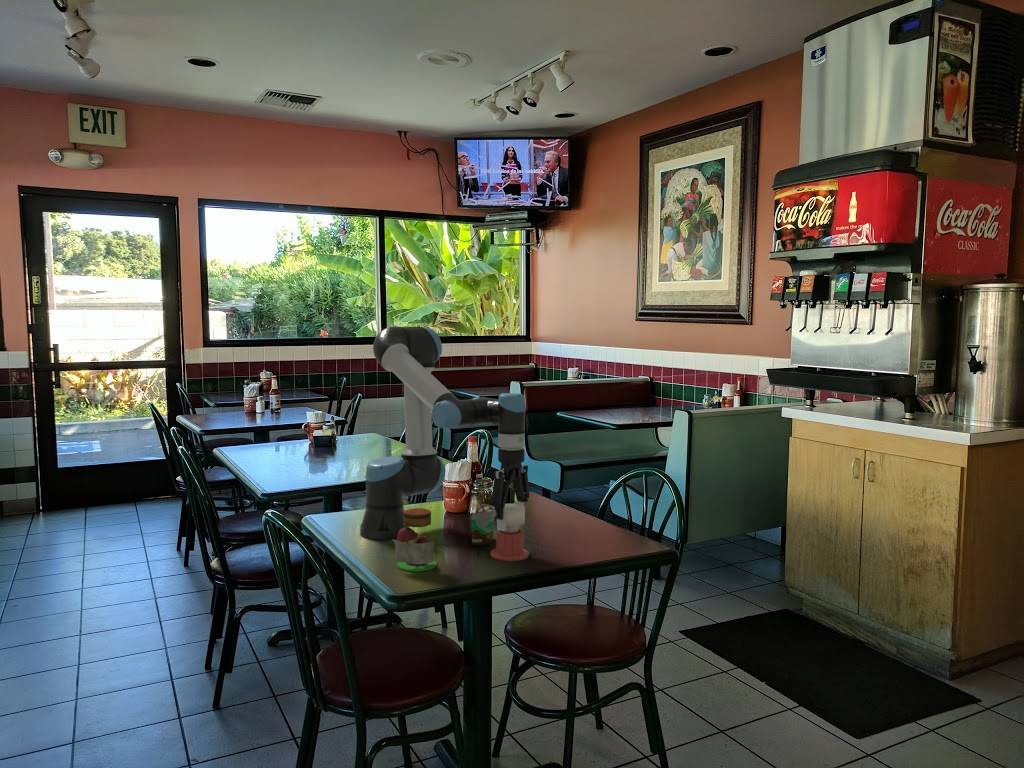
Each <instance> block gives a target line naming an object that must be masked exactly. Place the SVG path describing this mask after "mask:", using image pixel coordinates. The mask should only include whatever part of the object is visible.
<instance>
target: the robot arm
mask: <svg viewBox="0 0 1024 768" xmlns="http://www.w3.org/2000/svg"><path fill="white" fill-rule="evenodd" d="M442 344H443V343H442V341H441V338H440V336H439V334H438V333H437V332H436V331H435V330H434V329H433V328H431V327H426V326H420V325H419V326H418V325H417V326H397V325H394V326H388V327H386V328H384V329H382V330H381V331H379V333H378V334H377V335H376V336H375V339H374V341H373V345H372V352H373V356H374V357H375V359H376V361H377V363H378V364H379V365H380V367H382V368H383V370H385V371H387V372H392V373H393V374H394V375H395V376H396V377H397V378H398V379H399V380H400V381H401V382H402V383H403V392H404V394H403V395H404V396H403V397H404V398H403V401H404V402H403V403H404V426H405V427H404V428H405V429H404V431H405V432H404V433H405V448H404V449H403V450H402V452H401V453H400V455H401V456H398V455H397V456H396V455H395V456H394V455H391V456H382V457H378V458H375V459H373V460H370V461H369V462H368V463H367V465H366V466H365V467H366V468H365V476H364V478H365V511H364V514H363V518H362V523H361V524H360V526H359V534H360V536H361V537H363V538H366V539H373V540H392V539H393V540H395V539H397V537H398V532H399V530H400V529H402V528H407V527H408V528H410V527H409V526H405V525H404V511H405V508H404V500H405V499H404V497H405V498H406V497H410V496H416V495H421V494H425V495H426V494H430V493H432V492H435V491H437V490H439V489H440V487H441V486H442V485H443V484H444V481H445V477H446V465H445V464H444V463H443V462H444V461H443V459H442V458H441V457H440V456H438V451H437V450H436V448H434V447H433V424H434V425H435V426H436V427H438V428H439V429H449V430H450V429H455V428H461V427H462V428H463V427H471V426H481V425H494V426H498V431H497V432H498V433H497V438H498V439H497V446H498V450H497V460H498V462H499V463H500V469H499V470H493V486H492V495H491V506H493V507H494V508H496V531H497V530H500V531H506V512H507V508H504V507H505V504H507V503H506V502H507V499H508V494H509V491H510V486H513V490H514V494H515V497H516V500H515V501H514V504H519V505H523V506H525V503H527V502H529V498H530V488H529V487H530V486H529V476H528V474H529V473H528V471H529V470H528V469H529V465H527V464H522V463H524V462H525V456H526V455H525V453H526V451H525V449H524V447H525V445H526V444H525V439H526V437H525V434H526V430H525V428H526V427H525V425H526V410H527V408H526V397H525V395H524V394H522V393H514V392H504V393H500V394H499V396H498V398H497V399H496V398H490V397H485V396H482V397H481V396H480V397H479V396H476V397H473V398H472V399H459V398H457V396H456V395H454V394H453V393H452V392H451V391H450V390H449V389H448V388H447V387H446V386H445V385H444V384H442V383H441V382H440V381H439V380H438V379H437V378H436V377H435V376H434V375H433V374H432V372H433V371H434V370H435V369H436V366H435V365H436V362H437V361H439V360H440V358H441V355H442V352H443V346H442ZM432 420H433V422H432ZM524 525H525V523H524V524H523V525H522V526H524Z"/></svg>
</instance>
